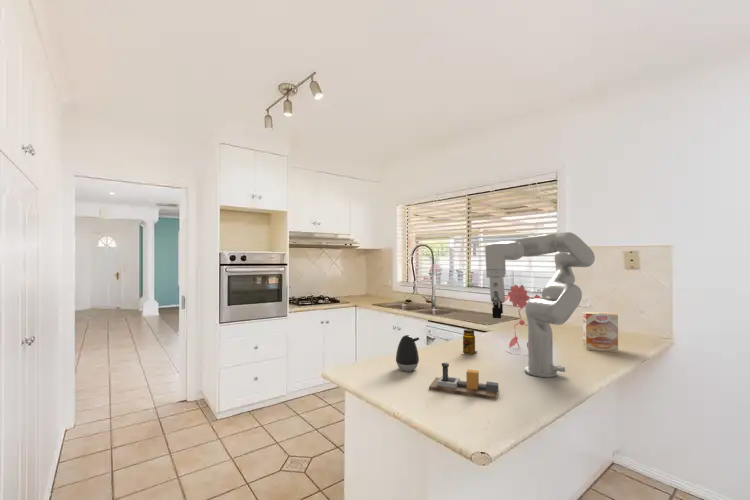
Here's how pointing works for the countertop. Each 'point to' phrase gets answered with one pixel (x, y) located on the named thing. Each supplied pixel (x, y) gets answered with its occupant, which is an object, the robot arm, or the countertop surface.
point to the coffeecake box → (600, 331)
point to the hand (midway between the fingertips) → (497, 315)
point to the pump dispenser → (407, 354)
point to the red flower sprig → (518, 297)
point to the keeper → (460, 389)
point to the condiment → (469, 342)
